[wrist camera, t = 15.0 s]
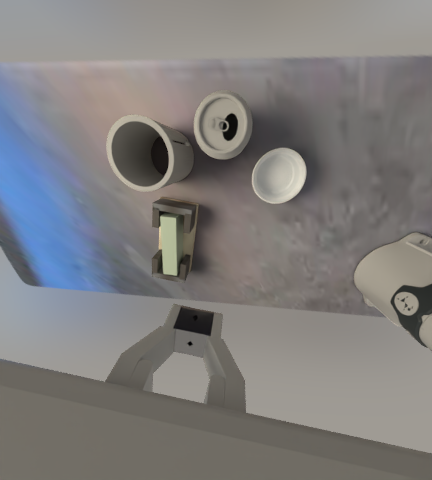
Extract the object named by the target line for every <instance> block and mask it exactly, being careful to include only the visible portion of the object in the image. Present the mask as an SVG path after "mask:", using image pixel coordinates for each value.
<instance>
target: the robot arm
mask: <svg viewBox="0 0 432 480" xmlns="http://www.w3.org/2000/svg"><path fill="white" fill-rule="evenodd" d="M354 282H355V285H356V287H357V288H358V290H359V291H360V292H361V293H362V294H363V297H364V301H365V303H366V304H367V305H368V306H370V307H376V308H377V309H378V310H379V311H380V312H381V313H383V314H384V315H385V316H386V317H387V318H388V319H389V320H390V321H392V322H393V323H394V324H395V325H397V326H401V327H404V328H405V329H406V331H407V332H408V333H409V334H410V335H411V336H412V337H413V338H414V339H416V340H417V341H418V342H419V343H420V344H421V345H423V346H425V347H427V348H429V349H430V350H431V351H432V238H431V237H428V236H426V235H424V234H421V233H418V232H415V233H412V234H410V235H408V236H406V237H404V238H403V239H401V240H400V241H397V242H394V243H391V244H388V245H385V246H382V247H380V248H378V249H376V250H374V251H372V252H371V253H370V254H368V255H367V256H366V257H365V258H364V259H363V260H362V261H361V262H360V263H359V265H358V267H357V268H356V271H355V274H354ZM222 318H223V315H222V314H221V313H216V312H211V311H205V310H200V309H195V308H190V307H186V306H181V305H177V304H173V305H172V307H171V310H170V312H169V314H168V316H167V319H166V321H165V323H164V326H160V327H159V328H157V329H156V330H154V331H153V332H151V333H150V334H149V335H147V336H146V337H144V338H143V339H142V340H140V341H139V342H137V343H136V344H135V345H133V346H132V347H130V348H129V349H128V350H126V351H125V352H123V353H122V354H121V356H120V358H119V359H118V361H117V362H116V364H115V366H114V367H113V369H112V371H111V373H110V374H109V376H108V377H107V379H106V381H105V382H103V381H99V380H94V379H90V378H85V377H81V376H76V375H71V374H67V373H62V372H58V371H53V370H49V369H44V368H39V367H35V366H31V365H26V364H22V363H16V362H12V361H7V360H3V359H0V480H432V454H431V453H427V452H422V451H417V450H413V449H409V448H404V447H399V446H395V445H390V444H386V443H381V442H376V441H372V440H368V439H363V438H358V437H354V436H349V435H345V434H340V433H336V432H331V431H327V430H322V429H317V428H313V427H308V426H304V425H299V424H295V423H289V422H286V421H281V420H276V419H272V418H267V417H263V416H258V415H254V414H249V413H246V403H245V402H246V401H245V380H244V378H243V376H242V374H241V372H240V370H239V368H238V366H237V365H236V363H235V361H234V359H233V357H232V355H231V353H230V351H229V349H228V347H227V346H226V344H225V342H224V340H223V339H221V329H222ZM173 352H178V353H184V354H189V355H193V356H197V357H201V358H203V360H204V363H205V367H206V370H207V372H208V376H209V379H210V381H209V385H208V388H207V392H206V396H205V400H204V403H199V402H194V401H190V400H186V399H181V398H176V397H172V396H167V395H163V394H158V393H154V392H152V384H153V383H152V382H153V373H154V372H155V371H156V370H157V369H158V368H159V367H160V366H161V365H162V364H163V363H164V362H165V361H166V360H167V359H168V358H169V357H170V355H171V354H172V353H173Z"/></svg>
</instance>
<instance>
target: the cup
mask: <svg viewBox="0 0 432 480" xmlns="http://www.w3.org/2000/svg"><path fill="white" fill-rule="evenodd" d="M159 136H161V137H162V138H163V140H164V142H165V144H166V146H167V149H168V154H169V165H168V170H167V172H166V174H165V176H163V175H162V174H160V173H159V172H158V171H157V170H156V168H155V166H154V164H153V162H152V158H151V149H152V145H153V143H154V141H155V140H156V139H157V138H158V137H159ZM173 140H174V141H178V142H181V143H184V144H185V145H183V144H179V143H175V142H173ZM106 147H107V156H108V160H109V162H110V165H111V167H112V169H113V171H114V172H115V174H116V175H117V176H118V177H119V178H120V180H121V181H122V182H123V183H125V184H126V185H127V186H129V187H130V188H133V189H135V190H138V191H143V192H147V191H148V192H149V191H154V190H157V189H160V188H162V187H165V186H167V185H170V184H173V183H175V182H178V181H180V180H182V179H184V178H185V177H187V175H189V173H190V172H191V170H192V167H193V164H194V152H193V149H192V146H191V144H190V142H189V141H188V139H187V138H186V137H185V136H184V135H183V134H181V133H180V132H178V131H176V130H174V129H172V128H170V127H167V126H165V125H163V124H161V123H159V122H156V121H154V120H152V119H150V118H147V117H145V116H141V115H128V116H125V117H123V118H120V119H119V120H118V121H116V123H115V124H114V125H113V126H112V128H111V129H110V131H109V134H108V137H107V146H106Z"/></svg>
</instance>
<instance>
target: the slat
mask: <svg viewBox="0 0 432 480" xmlns="http://www.w3.org/2000/svg"><path fill="white" fill-rule="evenodd" d="M160 222H161V240H162V259H163V274H167V275H175V276H177V275H178V273H179V271H180V264H181V262H182V260H183V215H181V214H175V213H170V212H165V213H164V214H163V215H161V216H160Z"/></svg>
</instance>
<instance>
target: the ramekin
mask: <svg viewBox="0 0 432 480" xmlns="http://www.w3.org/2000/svg"><path fill="white" fill-rule="evenodd" d="M306 175H307V170H306V165H305V162H304V160H303V158H302V157H301V156H300V155H299V154H298V153H297V152H296V151H294V150H292V149H289V148H277V149H274V150H271V151H269V152H267V153H266V154H265V155H263V156H262V157H261V158H260V159H259V161H258V162H257V163H256V165H255V167H254V170H253V173H252V186H253V189H254V191H255V193H256V194H257V195H258V197H259V198H261V199H262V200H264V201H266V202H268V203H273V204H279V203H284V202H286V201H289V200H290V199H292V198H293V197H295V196H296V195H297V194H298V193H299V192H300V190H301V189H302V187H303V185H304V183H305V180H306Z"/></svg>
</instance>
